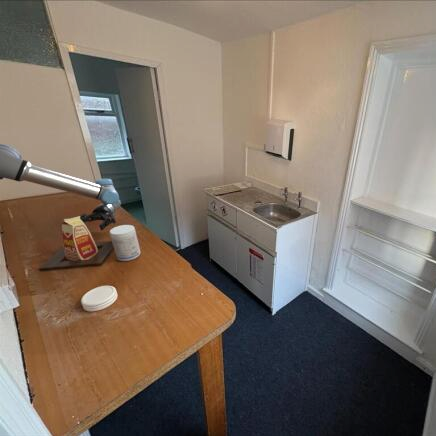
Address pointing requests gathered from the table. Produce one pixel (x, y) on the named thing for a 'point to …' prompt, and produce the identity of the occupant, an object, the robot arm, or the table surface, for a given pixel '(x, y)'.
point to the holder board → (98, 260)
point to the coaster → (99, 298)
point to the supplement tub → (125, 242)
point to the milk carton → (77, 240)
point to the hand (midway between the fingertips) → (84, 228)
